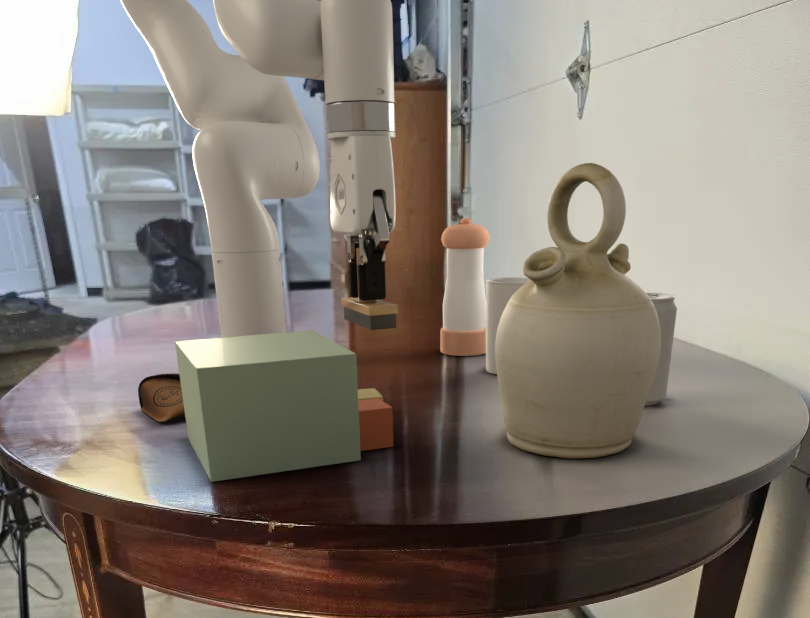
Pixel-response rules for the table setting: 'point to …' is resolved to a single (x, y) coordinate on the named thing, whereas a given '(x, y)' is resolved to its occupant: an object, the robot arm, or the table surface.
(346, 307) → the brush
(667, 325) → the beverage can
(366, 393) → the mustard yellow block
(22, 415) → the table surface
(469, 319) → the salt shaker
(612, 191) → the jug
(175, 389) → the sunglasses case
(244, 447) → the green box
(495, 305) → the mug
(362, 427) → the terracotta block
